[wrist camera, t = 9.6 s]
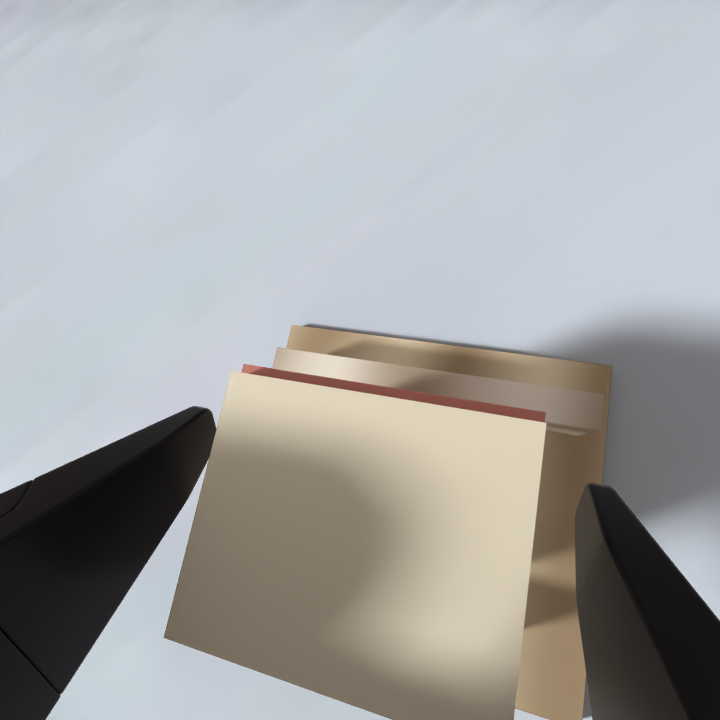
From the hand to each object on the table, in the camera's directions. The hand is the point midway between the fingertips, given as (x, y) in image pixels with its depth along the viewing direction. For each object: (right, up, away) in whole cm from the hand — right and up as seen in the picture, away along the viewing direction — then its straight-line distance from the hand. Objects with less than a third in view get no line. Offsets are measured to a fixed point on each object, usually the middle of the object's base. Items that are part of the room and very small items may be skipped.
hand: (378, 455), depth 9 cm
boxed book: (+2, -3, +9) cm, 9 cm away
